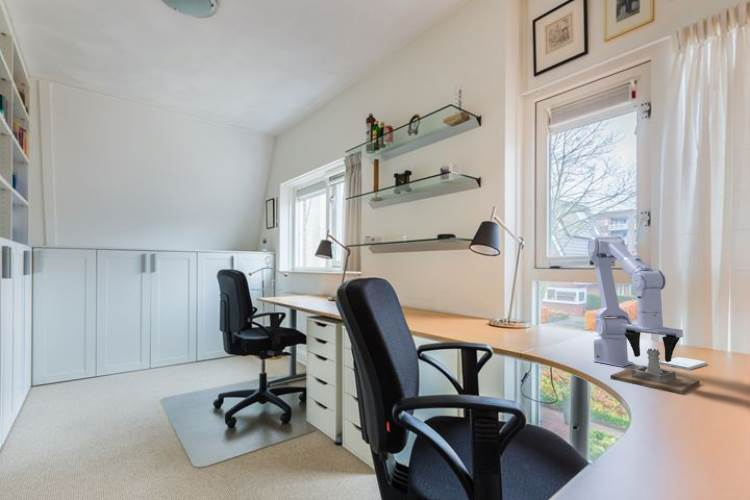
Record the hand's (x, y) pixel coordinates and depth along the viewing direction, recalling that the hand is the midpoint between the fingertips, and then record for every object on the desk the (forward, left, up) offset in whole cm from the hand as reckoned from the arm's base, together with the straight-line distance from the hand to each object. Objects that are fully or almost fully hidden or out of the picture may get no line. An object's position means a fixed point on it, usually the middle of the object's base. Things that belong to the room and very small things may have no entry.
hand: (652, 358), depth 107 cm
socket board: (0, 0, -6) cm, 6 cm away
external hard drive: (-1, +28, -7) cm, 29 cm away
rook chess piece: (0, +1, -6) cm, 6 cm away
